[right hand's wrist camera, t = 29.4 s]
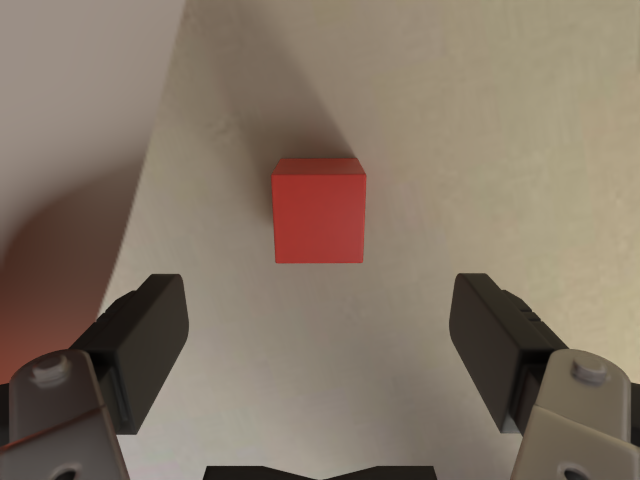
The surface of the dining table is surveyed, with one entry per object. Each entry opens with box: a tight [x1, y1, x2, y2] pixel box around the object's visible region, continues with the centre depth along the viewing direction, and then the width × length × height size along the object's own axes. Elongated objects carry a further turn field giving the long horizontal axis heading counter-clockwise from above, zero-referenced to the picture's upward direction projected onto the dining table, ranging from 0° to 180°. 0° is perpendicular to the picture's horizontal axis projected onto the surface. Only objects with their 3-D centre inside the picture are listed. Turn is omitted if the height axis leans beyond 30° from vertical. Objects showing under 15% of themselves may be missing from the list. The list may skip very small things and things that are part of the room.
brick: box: [271, 158, 366, 263], centre depth 20 cm, size 4×4×4 cm
